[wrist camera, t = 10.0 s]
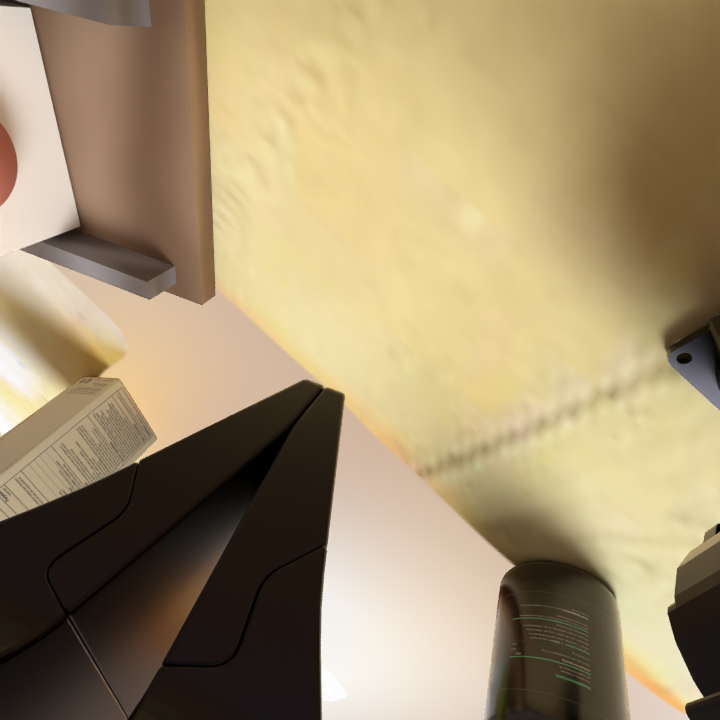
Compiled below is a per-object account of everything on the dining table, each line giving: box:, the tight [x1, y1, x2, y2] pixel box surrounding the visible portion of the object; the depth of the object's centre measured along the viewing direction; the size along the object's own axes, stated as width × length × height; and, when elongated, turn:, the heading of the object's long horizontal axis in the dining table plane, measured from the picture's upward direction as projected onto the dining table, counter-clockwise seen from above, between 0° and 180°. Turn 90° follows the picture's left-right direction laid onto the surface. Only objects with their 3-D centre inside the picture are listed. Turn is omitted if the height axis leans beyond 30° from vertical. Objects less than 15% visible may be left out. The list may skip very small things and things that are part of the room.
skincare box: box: [0, 377, 157, 521], centre depth 30 cm, size 6×4×12 cm
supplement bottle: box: [484, 561, 630, 720], centre depth 24 cm, size 7×7×12 cm
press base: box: [2, 0, 215, 305], centre depth 20 cm, size 16×14×4 cm
